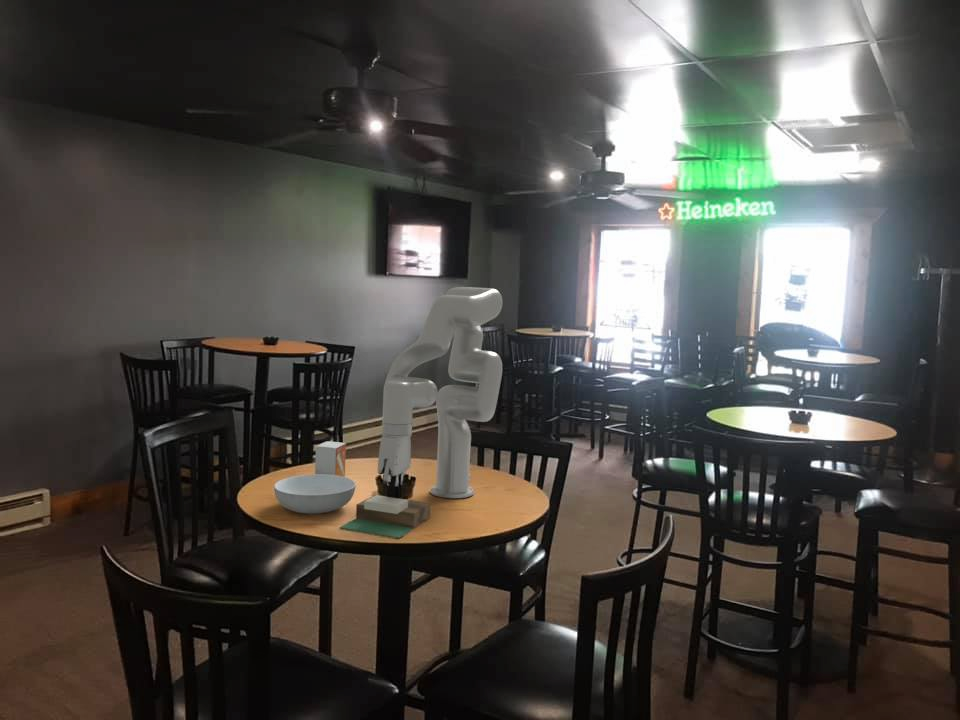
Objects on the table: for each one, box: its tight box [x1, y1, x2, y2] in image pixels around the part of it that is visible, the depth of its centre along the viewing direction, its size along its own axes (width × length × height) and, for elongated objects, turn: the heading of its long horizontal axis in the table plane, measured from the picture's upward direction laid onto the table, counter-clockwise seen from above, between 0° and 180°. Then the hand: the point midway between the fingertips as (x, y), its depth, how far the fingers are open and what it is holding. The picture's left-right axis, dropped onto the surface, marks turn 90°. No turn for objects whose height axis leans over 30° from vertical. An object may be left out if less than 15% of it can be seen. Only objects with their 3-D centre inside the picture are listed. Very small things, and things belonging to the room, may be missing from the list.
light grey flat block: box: [364, 494, 409, 514], centre depth 185 cm, size 6×9×2 cm, turn 70°
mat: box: [339, 518, 414, 539], centre depth 181 cm, size 8×16×1 cm, turn 70°
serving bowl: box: [273, 473, 357, 515], centre depth 195 cm, size 21×21×7 cm
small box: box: [314, 440, 347, 477], centre depth 215 cm, size 8×6×13 cm
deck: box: [355, 494, 431, 530], centre depth 190 cm, size 10×16×4 cm, turn 70°
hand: (394, 500), depth 189 cm, fingers closed
